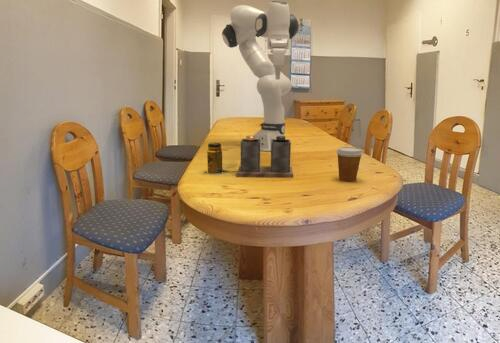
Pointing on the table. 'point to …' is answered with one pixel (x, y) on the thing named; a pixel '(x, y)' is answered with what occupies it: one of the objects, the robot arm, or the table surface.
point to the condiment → (215, 159)
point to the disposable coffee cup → (348, 163)
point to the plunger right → (280, 138)
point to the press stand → (278, 160)
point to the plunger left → (250, 138)
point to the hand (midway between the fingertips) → (277, 79)
